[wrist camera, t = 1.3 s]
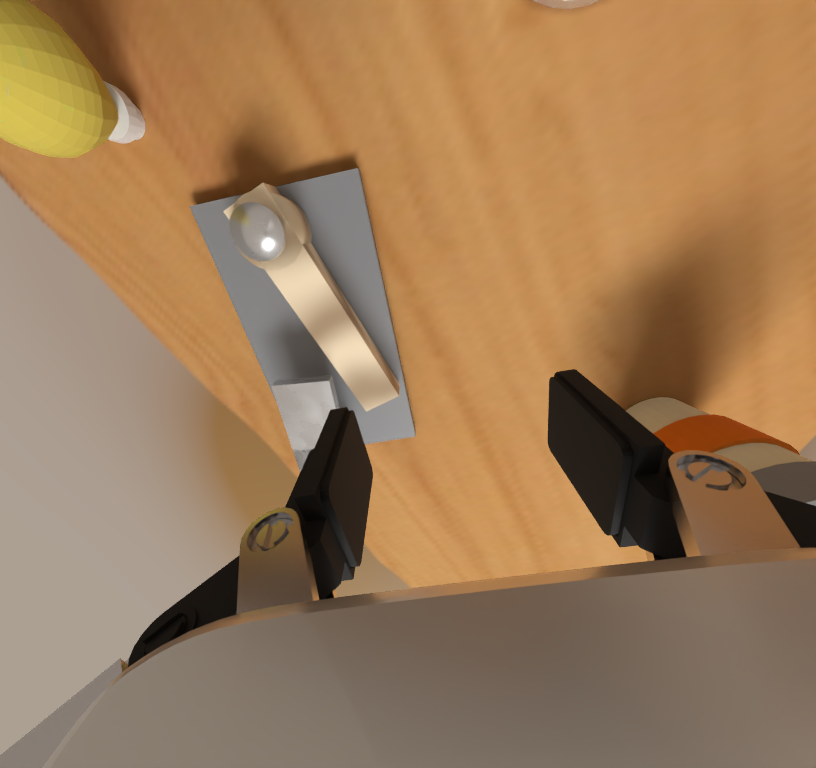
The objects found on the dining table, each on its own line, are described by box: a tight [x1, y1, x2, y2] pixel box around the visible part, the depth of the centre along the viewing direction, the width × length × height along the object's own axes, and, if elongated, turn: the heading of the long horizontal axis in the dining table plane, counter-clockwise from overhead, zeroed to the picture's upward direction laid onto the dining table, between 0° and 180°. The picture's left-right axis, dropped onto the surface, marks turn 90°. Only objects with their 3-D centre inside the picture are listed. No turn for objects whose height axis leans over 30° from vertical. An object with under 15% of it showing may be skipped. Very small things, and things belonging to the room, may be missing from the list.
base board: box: [190, 168, 416, 444], centre depth 29 cm, size 25×14×1 cm, turn 11°
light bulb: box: [0, 0, 145, 157], centre depth 18 cm, size 7×7×10 cm
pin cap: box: [229, 202, 286, 261], centre depth 21 cm, size 4×4×1 cm
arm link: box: [223, 183, 400, 412], centre depth 26 cm, size 19×5×2 cm, turn 29°
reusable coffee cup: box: [626, 397, 816, 506], centre depth 28 cm, size 13×13×15 cm
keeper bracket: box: [271, 375, 340, 472], centre depth 30 cm, size 10×5×4 cm, turn 6°
